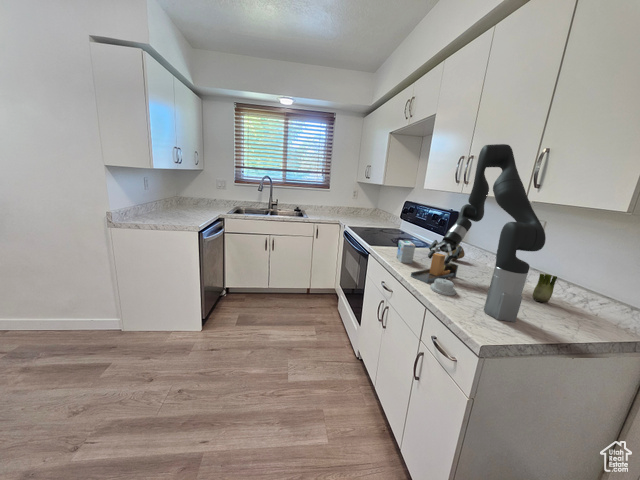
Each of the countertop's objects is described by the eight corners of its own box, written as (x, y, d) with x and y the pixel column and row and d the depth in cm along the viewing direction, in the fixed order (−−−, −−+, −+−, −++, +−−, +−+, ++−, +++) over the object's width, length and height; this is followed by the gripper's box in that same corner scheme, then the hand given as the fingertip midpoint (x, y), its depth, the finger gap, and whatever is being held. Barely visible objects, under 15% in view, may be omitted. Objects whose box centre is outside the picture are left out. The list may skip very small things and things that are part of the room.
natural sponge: (465, 261, 157) (468, 245, 155) (459, 263, 151) (462, 247, 149) (450, 257, 164) (453, 242, 161) (443, 259, 158) (447, 243, 156)
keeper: (438, 270, 136) (440, 259, 134) (455, 276, 128) (458, 265, 126) (430, 271, 132) (433, 260, 131) (448, 278, 124) (451, 266, 123)
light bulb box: (395, 257, 153) (398, 239, 151) (407, 258, 153) (410, 240, 151) (400, 262, 143) (403, 244, 140) (412, 264, 143) (416, 245, 140)
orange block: (437, 270, 132) (441, 251, 130) (449, 274, 127) (453, 255, 125) (427, 272, 127) (430, 253, 125) (439, 276, 122) (443, 256, 120)
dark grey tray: (438, 270, 135) (439, 266, 135) (454, 276, 128) (455, 272, 128) (410, 276, 123) (411, 272, 122) (427, 283, 115) (428, 279, 115)
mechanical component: (424, 286, 112) (441, 296, 103) (426, 277, 111) (443, 286, 102) (443, 285, 115) (461, 295, 106) (445, 276, 114) (463, 285, 105)
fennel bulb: (549, 302, 107) (558, 275, 104) (548, 305, 103) (557, 277, 100) (531, 297, 110) (539, 270, 108) (530, 300, 107) (538, 273, 104)
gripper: (439, 228, 131) (421, 251, 127) (467, 233, 119) (449, 259, 115) (443, 237, 135) (426, 260, 131) (471, 244, 123) (453, 269, 119)
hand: (437, 260), depth 123 cm, fingers open, 8 cm apart
